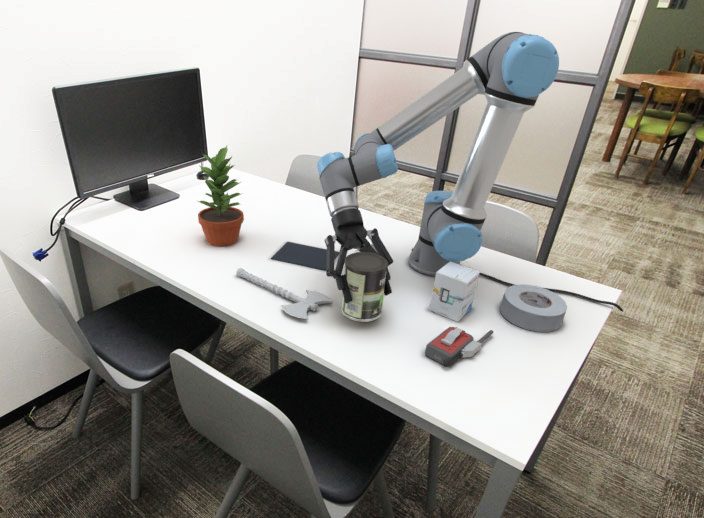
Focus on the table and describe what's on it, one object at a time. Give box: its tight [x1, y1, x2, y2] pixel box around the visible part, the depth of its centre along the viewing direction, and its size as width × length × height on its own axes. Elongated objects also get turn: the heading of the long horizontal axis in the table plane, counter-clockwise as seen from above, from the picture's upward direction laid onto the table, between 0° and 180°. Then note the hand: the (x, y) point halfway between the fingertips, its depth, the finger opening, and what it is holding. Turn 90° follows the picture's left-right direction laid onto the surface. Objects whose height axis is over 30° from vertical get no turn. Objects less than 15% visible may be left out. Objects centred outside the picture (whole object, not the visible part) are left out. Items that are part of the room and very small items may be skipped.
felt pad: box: [270, 241, 340, 272], centre depth 155 cm, size 18×13×1 cm
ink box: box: [428, 261, 481, 323], centre depth 129 cm, size 8×8×12 cm
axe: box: [235, 267, 334, 320], centre depth 135 cm, size 30×14×2 cm, turn 50°
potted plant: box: [197, 145, 245, 247], centre depth 155 cm, size 15×15×30 cm
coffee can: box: [340, 251, 389, 323], centre depth 122 cm, size 10×10×14 cm
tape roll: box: [499, 284, 568, 333], centre depth 129 cm, size 15×15×5 cm
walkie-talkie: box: [424, 326, 494, 367], centre depth 117 cm, size 9×4×20 cm
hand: (368, 298), depth 120 cm, fingers closed on coffee can, 10 cm apart
